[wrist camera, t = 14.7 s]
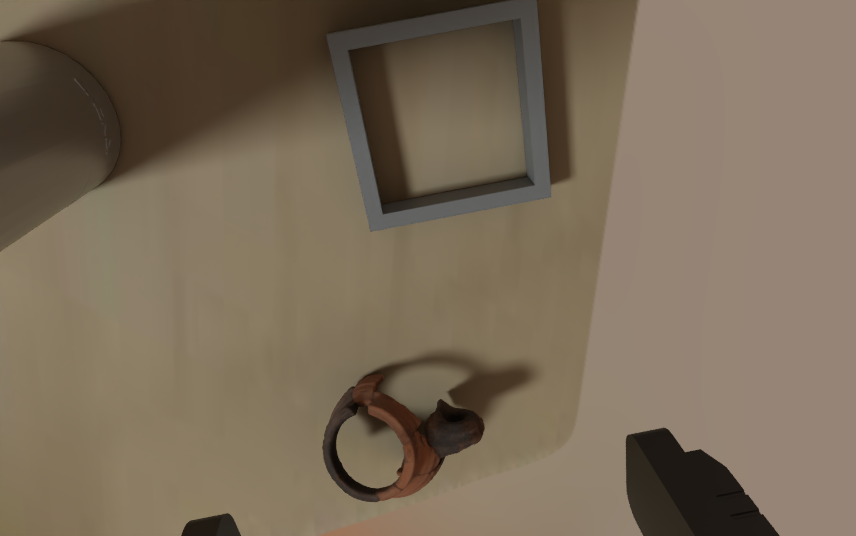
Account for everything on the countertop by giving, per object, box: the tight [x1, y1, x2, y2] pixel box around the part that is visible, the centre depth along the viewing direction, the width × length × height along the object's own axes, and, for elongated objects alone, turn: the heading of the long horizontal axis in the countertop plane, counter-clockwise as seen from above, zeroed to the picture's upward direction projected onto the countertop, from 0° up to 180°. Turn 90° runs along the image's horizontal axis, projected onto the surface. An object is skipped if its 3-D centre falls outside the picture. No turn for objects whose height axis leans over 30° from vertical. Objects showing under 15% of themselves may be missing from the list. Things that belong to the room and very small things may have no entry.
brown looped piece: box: [322, 374, 485, 502], centre depth 43 cm, size 12×10×8 cm
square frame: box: [326, 0, 551, 232], centre depth 35 cm, size 12×12×2 cm
